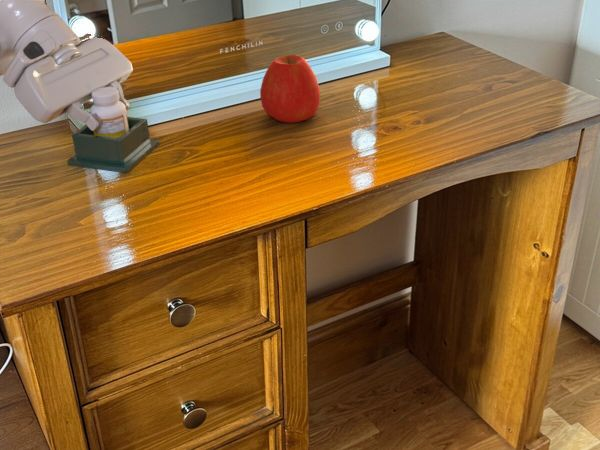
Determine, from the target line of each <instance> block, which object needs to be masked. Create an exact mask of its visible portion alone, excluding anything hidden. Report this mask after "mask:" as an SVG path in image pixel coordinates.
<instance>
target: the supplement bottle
mask: <svg viewBox="0 0 600 450" xmlns="http://www.w3.org/2000/svg"><path fill="white" fill-rule="evenodd" d="M91 100H92V105H91V106H90V109H89V113H90V114H92V115H93V114H95V113H96V114H97V115H98V116H99V118H101V119H102V121H103V124H102V125H101V126H100V127H99V128H97V129H96V130H94V131H93V132H94V135H95V136H103V137H111V138H119V137H121V136H122V135H123V134H124V133H126V132H127V131H128V130H129V126H128V119H127V117H128V113H127V111H126V108H125V105H124V104H123V103H122V102H121V101H119V92H118V89H116V88H114V87H103V88H99V89H97V90H95V91H93V92H92V99H91Z"/></svg>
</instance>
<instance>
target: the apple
mask: <svg viewBox="0 0 600 450" xmlns="http://www.w3.org/2000/svg"><path fill="white" fill-rule="evenodd" d="M319 85H320V84H319V81H318V78H317V76H316V74H315V72H314V71H313V69H312V66H310V64H309V62H308V61H307V59H306V58H303V57H301V56H299V55H296V54H290V55H285V56H280V57H277V58H276V59H274V60H273V61H272V62H271V63H270V65H269V66H268V67H267V69H266V71H265V73H264V76H263V78H262V81H261V86H260V90H259V94H260V95H259V96H260V97H259V98H260V102H261V106H262V108H263V110H264V112H265V113H266V114H267V115H268V116H270V117H271V118H273V119H274V120H276V121H278V122H281V123H287V124H291V123H298V122H299V123H300V122H303V121H305V120H308V119H310V118H312V117H313V116H314V115H315V114H316V112H317V110H318V109H319V107H320V104H321V90H320V86H319Z"/></svg>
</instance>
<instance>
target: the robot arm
mask: <svg viewBox="0 0 600 450" xmlns="http://www.w3.org/2000/svg"><path fill="white" fill-rule="evenodd" d="M103 38H104V37H103ZM103 38H97V37H93V35H91V34H88V33H85V34H84V35H83V36H78V35H77V34H76V32H74V31H73V29H72V28H71V27H70V26H69V25H68V24H67V23H66V22H65V20H64V19H63V18H62V17H61V16H60V15H59V13H57V12H56V11H54V10H53V9H52V10H51V9H50V8H49V7H48V6H47V3H46V0H0V77H1V76H2V81H3V82H4V84H5V85H7V86H8V87H9V88H12V89H13V93H14V95H15V97H16V99H17V100H18V102H19V103H20V105H22V107H23V108H24V109H25V110H26V111H27V112H28V113H29V114H30V116H31V117H32V118H33V119H34V120H36V121H37V122H40V123H43V124H48V123H50V122H51V121H54V120H55V119H57V118H59V117H61V116H62V115H64V114H66V113H67V114H68V116H69V117H70V118H71V119H73V120H75V121H78V122H80V123H82V124H85V125H87V126H88V127H89V128H90V130H92V131H94V130H96V129H97V128H99V127H100V126H101V125H102V124H103V121H102V119H101V118H99V116H98V115H97V114H96V113H95V114H93V115H92V114H90V112H88V111H87V110H85V109H83V108H84V105H83V104H85V103H87V102H89V101H90V100H93V99H92V92H93V91H95V90H97V89H99V88H103V87H114V88H116V89H118V92H119V101H121V102H122V103H123V104H124V105H125V108H126V112H128V111H129V109H131V106H132V105H131V104H130V103H129V101H128V100H127V99H126V97H125V93H124V91H123V87H122V85H121V84H122V83H124V82H126V80H127V79H128V78H129V77H130V75H131V74H132V73H133V71H134V68H133V64H132V62H131V61H130V60H129V58H128V57H126V55H124V54H123V53H122V52H121V51H120V50H119V49H118V48H117V47H116V46H115V45H114V44H112V43H111V42H110V41H109V40H107V39H105V38H104V39H103Z"/></svg>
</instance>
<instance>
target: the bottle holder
mask: <svg viewBox="0 0 600 450" xmlns="http://www.w3.org/2000/svg"><path fill="white" fill-rule="evenodd" d="M127 119H128V126H129V130H128V131H127V132H126V133H124V134H123V135H122V136H121V137H119V138H111V137H103V136H95V135H94V132H93V131H92V130H90V128H89V127H88V126H87V125H86V124H85V125H83V126H82V127H80V128H79V129H78V130H76V131H75V132H73V133H72V134H71V139H72V143H73V148H74V153H75V154H74V155H73V156H71V157H70V158H69V159H67V160H66V162H67V165H68V166H71V167H79V168H85V169H86V168H88V169H94V170H101V171H109V172H116V173H122V174H123V173H125V174H129V173H130V172H131V171H132V170H133V169H134V168H135V167H137V165H138V164H140V163H141V162H142V161H143V160H144V159H146V157H148V156H149V155H150V154H151V153H152V152H153V151H155V150H156V148H158V147H159V146H160V140H159V139H151V137H150V130H149V123H148V119H147V118H140V117H131V116H127Z"/></svg>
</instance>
